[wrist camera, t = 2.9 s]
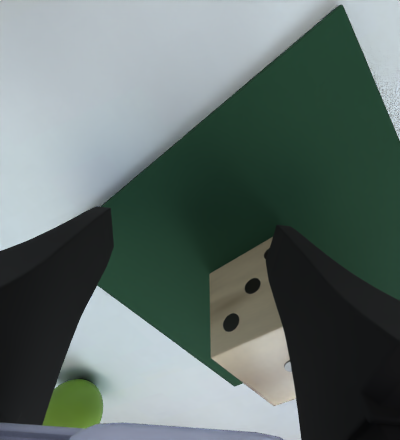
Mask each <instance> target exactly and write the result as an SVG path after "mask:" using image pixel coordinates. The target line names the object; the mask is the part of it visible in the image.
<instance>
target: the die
mask: <svg viewBox="0 0 400 440" xmlns="http://www.w3.org/2000/svg"><path fill="white" fill-rule="evenodd" d="M272 238H273V237H272ZM272 238H270V239H268V240H267V241H265V242H263V243H261V244H260V245H258V246H256V247H255V248H253V249H251V250H249V251H248V252H246V253H244V254H243V255H241V256H239V257H237V258H236V259H234V260H232V261H231V262H229V263H227V264H225V265H224V266H222V267H220V268H219V269H217V270H215V271H214V272H212V273H210V274H209V278H210V338H211V358H212V359H213V360H214V361H215V362H217V363H218V364H219V365H221V366H222V367H223V368H225V369H226V370H227V371H228V372H230V373H231V374H232V375H234V376H235V377H236V378H238V379H239V380H240V381H242V382H243V383H244V384H245V385H247V386H248V387H249V388H251V389H252V390H253V391H255V392H256V393H257V394H259V395H260V396H261V397H262V398H264V399H265V400H266V401H268V402H269V403H270V404H272V405H273V406H276V405H279V404H282V403H285V402H288V401H291V400H294V399H296V394H295V387H294V381H293V375H292V369H291V364H290V358H289V353H288V348H287V343H286V338H285V334H284V330H283V326H282V323H281V319H280V316H279V313H278V310H277V307H276V303H275V300H274V297H273V294H272V290H271V287H270V284H269V280H268V274H267V267H266V258H267V255H268V252H269V248H270V245H271V242H272Z"/></svg>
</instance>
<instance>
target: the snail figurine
mask: <svg viewBox="0 0 400 440" xmlns="http://www.w3.org/2000/svg"><path fill="white" fill-rule="evenodd" d="M102 413H103V400H102V396H101V393H100V391H99V390H98V388H97V387H96V386H95V385H94V384H93V383H91V382H89V381H87V380H83V379H74V380H69V381H67V382H64V383H62V384H61V385H59V386H58V387H56V388H55V389H54V390H53V393H52V396H51V399H50V403H49V406H48V409H47V412H46V415H45V418H44V422H43V425H42V426H56V427H70V428H85V429H86V428H88V427H90V426H93V425H95V424H100V421H101V418H102Z"/></svg>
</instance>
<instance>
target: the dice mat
mask: <svg viewBox="0 0 400 440" xmlns="http://www.w3.org/2000/svg"><path fill="white" fill-rule="evenodd" d="M101 207H107V208H111V216H112V228H113V241H114V248H113V251H112V254H111V257H110V259H109V262H108V265H107V267H106V269H105V271H104V273H103V275H102V277H101V279H100V281H99V283H98V284H97V285H98V286H99V287H100V288H102V289H103V290H104V291H106V292H107V293H108V294H110V295H111V296H113V297H114V298H115V299H117V300H118V301H119V302H121V303H122V304H123V305H125V306H126V307H127V308H129V309H130V310H132V311H133V312H134V313H136V314H137V315H138V316H140V317H141V318H142V319H144V320H145V321H146V322H148V323H149V324H150V325H152V326H153V327H155V328H156V329H157V330H159V331H160V332H161V333H163V334H164V335H165V336H167V337H168V338H169V339H171V340H172V341H174V342H175V343H176V344H178V345H179V346H180V347H182V348H183V349H184V350H186V351H187V352H188V353H190V354H191V355H192V356H194V357H195V358H197V359H198V360H199V361H201V362H202V363H203V364H205V365H206V366H207V367H209V368H210V369H211V370H213V371H214V372H216V373H217V374H218V375H220V376H221V377H222V378H224V379H225V380H226V381H228V382H229V383H230V384H232V385H233V386H237V385H240V384H242V383H243V382H242V381H240V380H239V379H238V378H236V377H235V376H234V375H232V374H231V373H230V372H228V371H227V370H226V369H225V368H223V367H222V366H221V365H219V364H218V363H217V362H215V361H214V360H213V359H212V358H211V338H210V278H209V274H210V273H212V272H214V271H215V270H217V269H219V268H220V267H222V266H224V265H225V264H227V263H229V262H231V261H232V260H234V259H236V258H237V257H239V256H241V255H243V254H244V253H246V252H248V251H249V250H251V249H253V248H255V247H256V246H258V245H260V244H261V243H263V242H265V241H267V240H268V239H270V238H272V237H273V235H274V232H275V229H276V225H284V226H291V227H292V228H294V229H295V230H297V231H298V232H299V233H300V234H302V235H303V236H304V237H305V238H307V239H308V240H309V241H310V242H311V243H313V244H314V245H315V246H316V247H318V248H319V249H320V250H321V251H323V252H324V253H325V254H326V255H328V256H329V257H330V258H332V259H333V260H334V261H336V262H337V263H338V264H340V265H341V266H343V267H344V268H345V269H347V270H348V271H350V272H351V273H353V274H354V275H356V276H357V277H359V278H361V279H362V280H364V281H365V282H367V283H369V284H370V285H372V286H374V287H375V288H377V289H379V290H381V291H383V292H384V293H386V294H388V295H390V296H392V297H394V298H396V299H398V300H399V301H400V141H399V138H398V136H397V134H396V131H395V129H394V126H393V124H392V122H391V119H390V117H389V114H388V112H387V110H386V107H385V105H384V102H383V100H382V98H381V95H380V93H379V90H378V88H377V86H376V83H375V81H374V79H373V76H372V74H371V71H370V69H369V67H368V64H367V62H366V59H365V57H364V55H363V52H362V50H361V47H360V45H359V43H358V40H357V38H356V36H355V33H354V31H353V28H352V26H351V24H350V21H349V19H348V16H347V14H346V12H345V9H344V7H343V5H340V6H338V7H337V8H335V9H334V10H333V11H332V12H331V13H329V14H328V15H327V16H326V17H325V18H324V19H322V20H321V21H320V22H319V23H318V24H316V25H315V26H314V27H313V28H312V29H310V30H309V31H308V32H307V33H306V34H305V35H303V36H302V37H301V38H300V39H299V40H297V41H296V42H295V43H294V44H293V45H292V46H290V47H289V48H288V49H287V50H286V51H284V52H283V53H282V54H281V55H280V56H278V57H277V58H276V59H275V60H274V61H273V62H271V63H270V64H269V65H268V66H267V67H265V68H264V69H263V70H262V71H261V72H260V73H258V74H257V75H256V76H255V77H254V78H252V79H251V80H250V81H249V82H248V83H247V84H245V85H244V86H243V87H242V88H241V89H239V90H238V91H237V92H236V93H235V94H233V95H232V96H231V97H230V98H229V99H228V100H226V101H225V102H224V103H223V104H222V105H220V106H219V107H218V108H217V109H216V110H215V111H213V112H212V113H211V114H210V115H209V116H207V117H206V118H205V119H204V120H203V121H201V122H200V123H199V124H198V125H197V126H196V127H194V128H193V129H192V130H191V131H190V132H188V133H187V134H186V135H185V136H184V137H183V138H181V139H180V140H179V141H178V142H177V143H175V144H174V145H173V146H172V147H171V148H169V149H168V150H167V151H166V152H165V153H164V154H162V155H161V156H160V157H159V158H158V159H156V160H155V161H154V162H153V163H152V164H151V165H149V166H148V167H147V168H146V169H145V170H143V171H142V172H141V173H140V174H139V175H137V176H136V177H135V178H134V179H133V180H132V181H130V182H129V183H128V184H127V185H126V186H124V187H123V188H122V189H121V190H120V191H119V192H117V193H116V194H115V195H114V196H113V197H111V198H110V199H109V200H108V201H107V202H105V203H104V204H103V205H102V206H101Z"/></svg>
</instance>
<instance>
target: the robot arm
mask: <svg viewBox="0 0 400 440" xmlns="http://www.w3.org/2000/svg"><path fill="white" fill-rule="evenodd" d="M113 248H114V241H113V228H112V216H111V208H107V207H97V206H96V207H94V208H92V209H90V210H88V211H86V212H84V213H82V214H80V215H78V216H77V217H75V218H73V219H71V220H69V221H67V222H65V223H64V224H62V225H60V226H58V227H56V228H54V229H52V230H50V231H47V232H45V233H43V234H41V235H39V236H37V237H35V238H33V239H30V240H28V241H26V242H23V243H21V244H18V245H15V246H13V247H10V248H8V249H5V250H2V251H0V440H283V439H282V438H280V437H276V436H271V435H266V434H262V433H257V432H245V431H231V430H217V429H203V428H189V427H175V426H162V425H148V424H134V423H108V424H95V425H93V426H90V427H88V428H86V429H85V428H70V427H56V426H42V425H43V422H44V418H45V415H46V412H47V409H48V406H49V403H50V399H51V396H52V393H53V390H54V388H55V385H56V382H57V379H58V376H59V373H60V370H61V367H62V364H63V362H64V359H65V356H66V354H67V351H68V348H69V346H70V343H71V340H72V338H73V335H74V333H75V330H76V328H77V325H78V323H79V320H80V318H81V316H82V313H83V311H84V309H85V307H86V305H87V303H88V302H89V300H90V298H91V296H92V294H93V292H94V290H95V288H96V286H97V284H98V283H99V281H100V279H101V277H102V275H103V273H104V271H105V269H106V267H107V265H108V262H109V259H110V257H111V254H112V251H113ZM266 267H267V274H268V280H269V284H270V287H271V290H272V294H273V297H274V300H275V303H276V307H277V310H278V313H279V316H280V319H281V323H282V326H283V330H284V334H285V338H286V343H287V348H288V353H289V358H290V364H291V369H292V375H293V381H294V387H295V394H296V401H297V408H298V415H299V423H300V431H301V440H400V301H399V300H398V299H396V298H394V297H392V296H390V295H388V294H386V293H384V292H383V291H381V290H379V289H377V288H375V287H374V286H372V285H370V284H369V283H367V282H365V281H364V280H362V279H361V278H359V277H357V276H356V275H354V274H353V273H351V272H350V271H348V270H347V269H345V268H344V267H343V266H341V265H340V264H338V263H337V262H336V261H334V260H333V259H332V258H330V257H329V256H328V255H326V254H325V253H324V252H323V251H321V250H320V249H319V248H318V247H316V246H315V245H314V244H313V243H311V242H310V241H309V240H308V239H307V238H305V237H304V236H303V235H302V234H300V233H299V232H298V231H297V230H295V229H294V228H292V227H291V226H284V225H276V229H275V232H274V235H273V238H272V242H271V245H270V248H269V252H268V255H267V258H266Z"/></svg>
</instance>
